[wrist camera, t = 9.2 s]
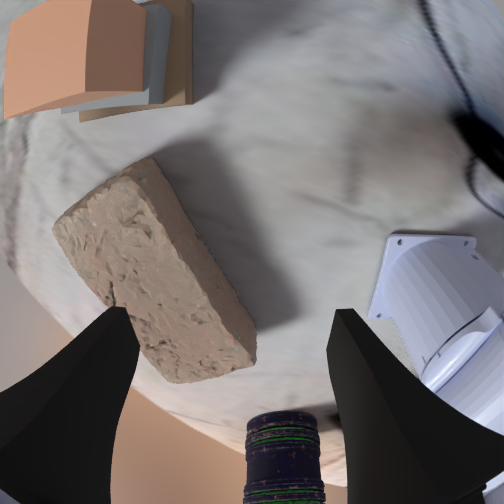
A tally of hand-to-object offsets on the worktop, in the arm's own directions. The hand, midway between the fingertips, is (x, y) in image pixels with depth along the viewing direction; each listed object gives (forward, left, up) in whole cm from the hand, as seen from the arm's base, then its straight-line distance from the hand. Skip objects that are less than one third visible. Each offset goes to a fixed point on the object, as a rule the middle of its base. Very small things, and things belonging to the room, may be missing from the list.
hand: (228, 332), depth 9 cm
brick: (+6, +5, -11) cm, 13 cm away
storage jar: (-4, +30, -11) cm, 32 cm away
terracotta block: (+6, -10, -6) cm, 14 cm away
